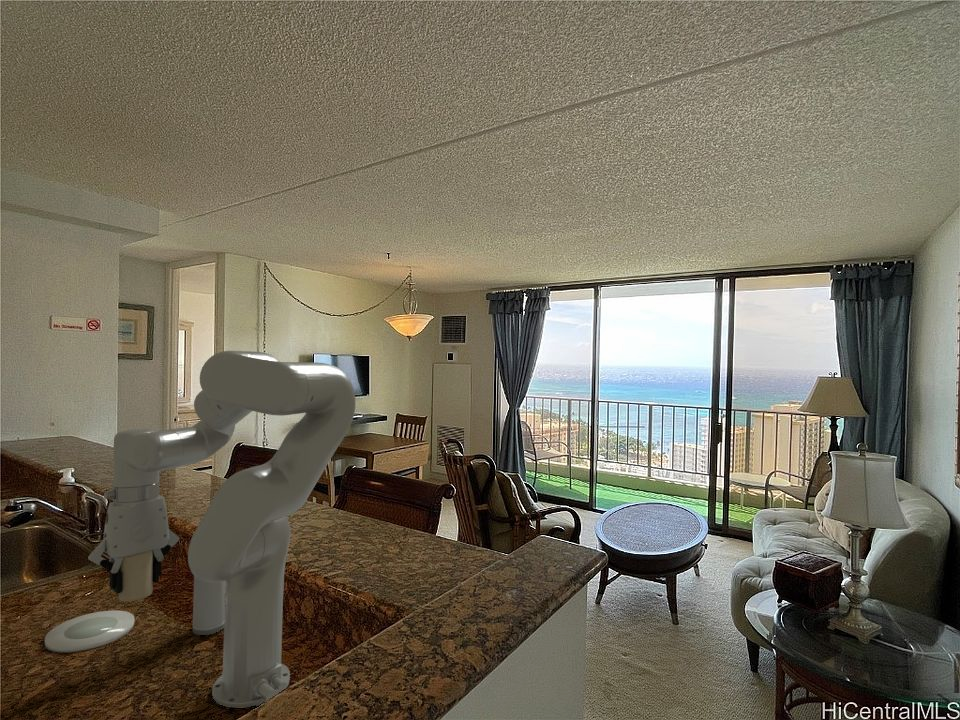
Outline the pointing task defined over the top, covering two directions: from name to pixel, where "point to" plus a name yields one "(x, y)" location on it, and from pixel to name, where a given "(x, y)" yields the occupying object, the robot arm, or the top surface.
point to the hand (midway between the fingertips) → (135, 585)
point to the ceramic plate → (89, 631)
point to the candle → (136, 577)
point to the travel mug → (208, 607)
